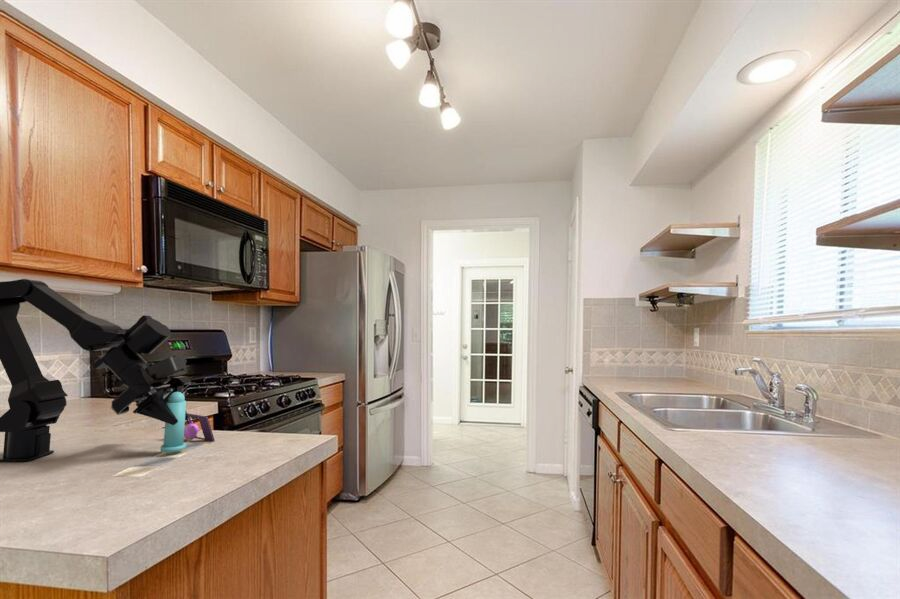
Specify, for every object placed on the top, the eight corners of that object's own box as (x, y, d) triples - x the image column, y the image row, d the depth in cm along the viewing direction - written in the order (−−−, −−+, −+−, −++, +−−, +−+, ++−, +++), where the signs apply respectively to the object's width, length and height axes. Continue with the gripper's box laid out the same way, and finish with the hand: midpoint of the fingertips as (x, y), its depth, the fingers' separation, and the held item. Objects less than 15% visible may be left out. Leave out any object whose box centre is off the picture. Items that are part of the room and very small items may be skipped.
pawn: (158, 452, 88) (162, 393, 89) (162, 447, 92) (166, 390, 93) (184, 450, 90) (188, 392, 91) (187, 445, 94) (190, 390, 95)
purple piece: (210, 415, 103) (188, 411, 108) (189, 426, 99) (167, 422, 103) (217, 439, 105) (195, 435, 109) (197, 451, 100) (175, 446, 105)
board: (90, 483, 75) (90, 479, 75) (176, 444, 101) (176, 441, 101) (137, 483, 75) (137, 478, 75) (210, 444, 101) (210, 441, 101)
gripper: (131, 344, 83) (186, 401, 83) (185, 342, 102) (229, 389, 102) (86, 384, 82) (141, 443, 82) (148, 374, 101) (193, 422, 101)
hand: (181, 421), depth 92 cm, fingers closed on pawn, 4 cm apart
